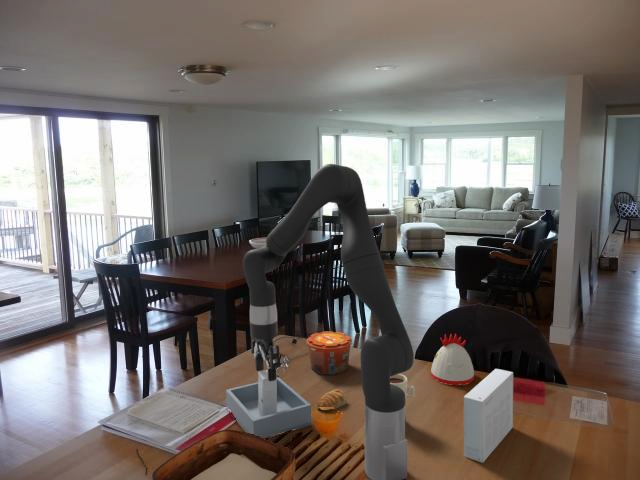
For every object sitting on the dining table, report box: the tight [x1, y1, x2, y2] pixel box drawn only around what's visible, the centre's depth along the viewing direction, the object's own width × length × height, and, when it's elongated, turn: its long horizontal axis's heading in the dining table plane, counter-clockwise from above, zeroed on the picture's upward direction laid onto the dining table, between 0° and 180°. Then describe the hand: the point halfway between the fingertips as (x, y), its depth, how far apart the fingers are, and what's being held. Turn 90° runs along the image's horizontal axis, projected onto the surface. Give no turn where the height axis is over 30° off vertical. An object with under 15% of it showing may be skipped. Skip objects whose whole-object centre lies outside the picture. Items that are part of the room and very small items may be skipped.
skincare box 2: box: [463, 368, 514, 464], centre depth 133 cm, size 21×5×16 cm, turn 141°
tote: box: [225, 376, 312, 438], centre depth 147 cm, size 21×17×6 cm
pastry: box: [316, 389, 348, 409], centre depth 154 cm, size 9×7×4 cm
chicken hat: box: [430, 333, 475, 386], centre depth 172 cm, size 14×14×15 cm
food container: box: [306, 330, 353, 375], centre depth 181 cm, size 16×16×11 cm
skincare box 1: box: [257, 369, 277, 417], centre depth 146 cm, size 6×4×12 cm
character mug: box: [390, 373, 416, 422], centre depth 143 cm, size 11×7×13 cm, turn 77°
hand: (265, 375), depth 146 cm, fingers open, 8 cm apart
